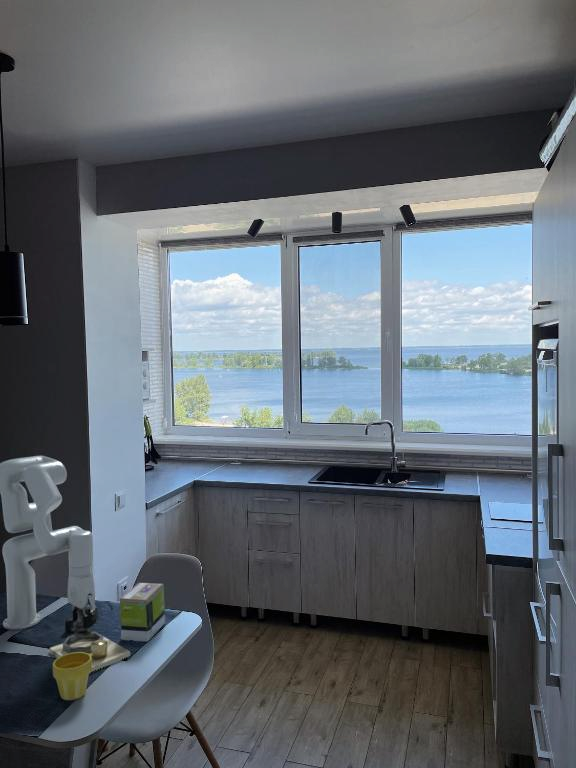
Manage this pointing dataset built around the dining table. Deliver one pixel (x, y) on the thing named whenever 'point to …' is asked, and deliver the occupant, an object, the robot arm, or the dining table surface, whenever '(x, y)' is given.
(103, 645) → the brass post
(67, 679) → the plant pot
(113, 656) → the birch board
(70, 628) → the mobile phone
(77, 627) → the grey knobbed cylinder
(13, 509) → the robot arm
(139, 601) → the tea box
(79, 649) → the ring holder
